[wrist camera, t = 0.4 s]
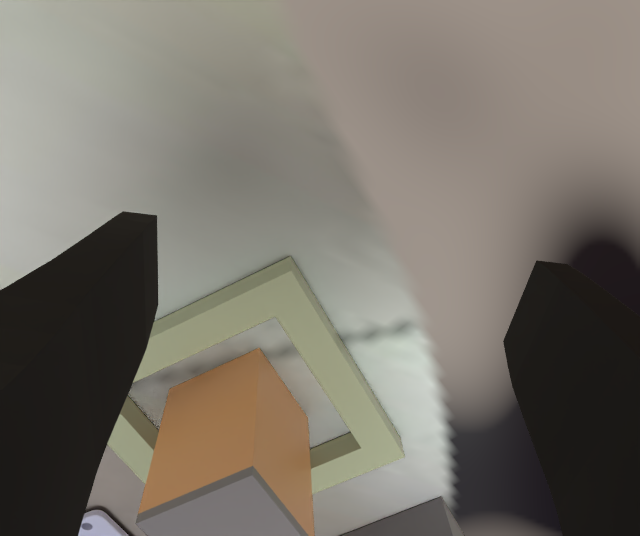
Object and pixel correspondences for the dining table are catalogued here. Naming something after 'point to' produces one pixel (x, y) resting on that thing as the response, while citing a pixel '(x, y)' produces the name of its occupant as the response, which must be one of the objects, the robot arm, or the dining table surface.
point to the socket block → (415, 522)
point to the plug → (230, 457)
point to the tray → (312, 344)
